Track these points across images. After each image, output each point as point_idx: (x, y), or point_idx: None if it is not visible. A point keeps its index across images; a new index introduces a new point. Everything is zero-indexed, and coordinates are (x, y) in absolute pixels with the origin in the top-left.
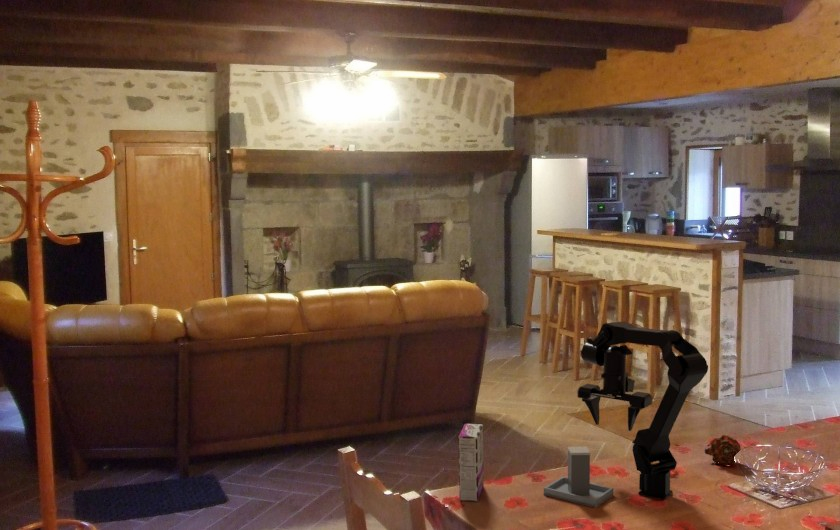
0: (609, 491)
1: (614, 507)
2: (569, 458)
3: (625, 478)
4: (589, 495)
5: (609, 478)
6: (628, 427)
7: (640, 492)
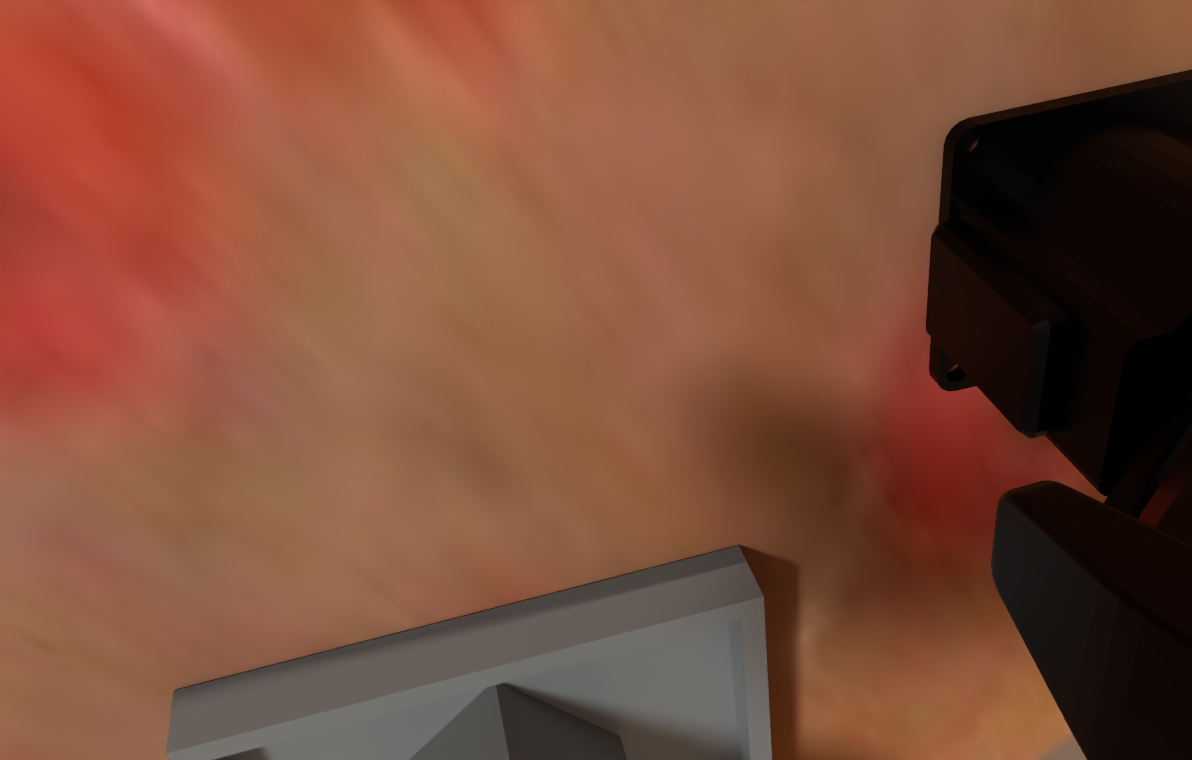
0: (765, 654)
1: (864, 685)
2: None
3: (564, 59)
4: (620, 738)
5: (410, 223)
6: (1069, 703)
7: (951, 363)
